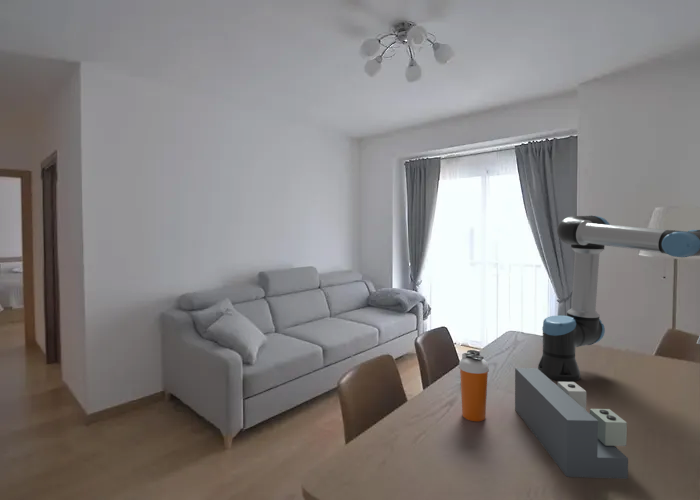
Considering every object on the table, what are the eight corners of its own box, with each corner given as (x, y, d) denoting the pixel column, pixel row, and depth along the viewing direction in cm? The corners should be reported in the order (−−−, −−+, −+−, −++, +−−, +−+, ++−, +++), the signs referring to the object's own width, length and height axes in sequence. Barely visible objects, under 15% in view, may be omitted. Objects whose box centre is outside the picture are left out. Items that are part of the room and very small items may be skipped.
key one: (573, 400, 117) (574, 380, 117) (586, 411, 110) (586, 390, 110) (557, 400, 118) (557, 380, 118) (568, 410, 111) (568, 390, 111)
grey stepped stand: (558, 410, 122) (559, 368, 122) (627, 478, 89) (629, 421, 88) (515, 409, 123) (515, 367, 123) (566, 476, 90) (567, 420, 89)
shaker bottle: (474, 426, 113) (474, 361, 112) (453, 413, 121) (453, 353, 120) (494, 418, 118) (494, 356, 117) (473, 407, 125) (473, 348, 124)
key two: (608, 431, 100) (609, 408, 99) (626, 446, 93) (626, 421, 92) (589, 430, 100) (589, 407, 100) (605, 445, 93) (605, 420, 93)
